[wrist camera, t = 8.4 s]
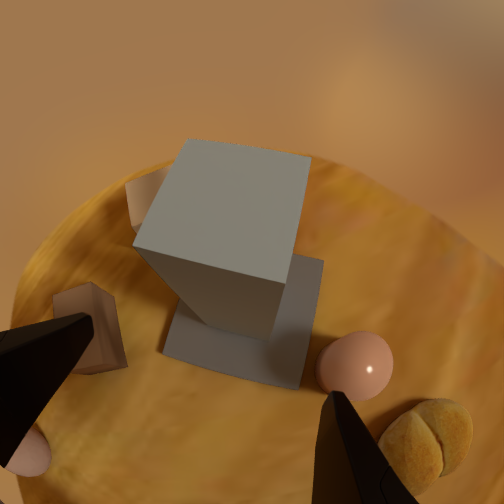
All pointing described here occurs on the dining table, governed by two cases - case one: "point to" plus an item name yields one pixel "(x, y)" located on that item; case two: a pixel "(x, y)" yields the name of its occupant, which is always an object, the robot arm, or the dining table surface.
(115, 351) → the walnut brick
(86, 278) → the dining table surface
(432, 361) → the dining table surface
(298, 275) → the coaster
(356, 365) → the pink rounded pebble
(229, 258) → the tall block
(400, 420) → the bread roll
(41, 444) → the mauve oval ball
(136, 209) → the beech cube
